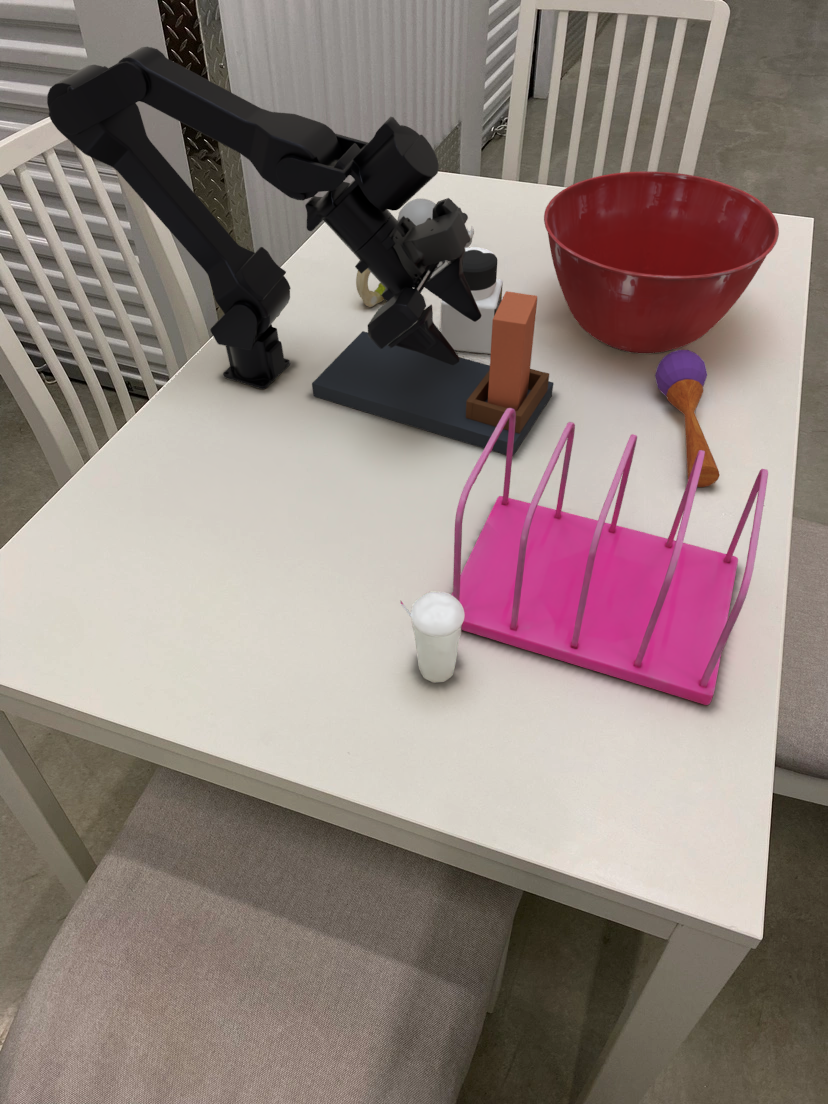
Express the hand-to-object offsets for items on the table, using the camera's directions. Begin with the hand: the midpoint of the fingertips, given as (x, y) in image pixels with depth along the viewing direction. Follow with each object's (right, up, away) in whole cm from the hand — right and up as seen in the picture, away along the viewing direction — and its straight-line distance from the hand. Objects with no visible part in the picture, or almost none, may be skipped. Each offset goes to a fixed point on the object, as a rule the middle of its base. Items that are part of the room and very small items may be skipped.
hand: (468, 340), depth 93 cm
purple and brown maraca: (+26, -10, +4) cm, 28 cm away
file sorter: (+11, -29, -13) cm, 33 cm away
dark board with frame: (-4, -5, +9) cm, 11 cm away
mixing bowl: (+25, +7, +19) cm, 32 cm away
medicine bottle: (+2, +5, +18) cm, 19 cm away
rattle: (-10, +11, +24) cm, 28 cm away
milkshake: (-4, -35, -18) cm, 40 cm away
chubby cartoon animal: (-3, +21, +33) cm, 40 cm away
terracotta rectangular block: (+5, -7, +5) cm, 9 cm away
